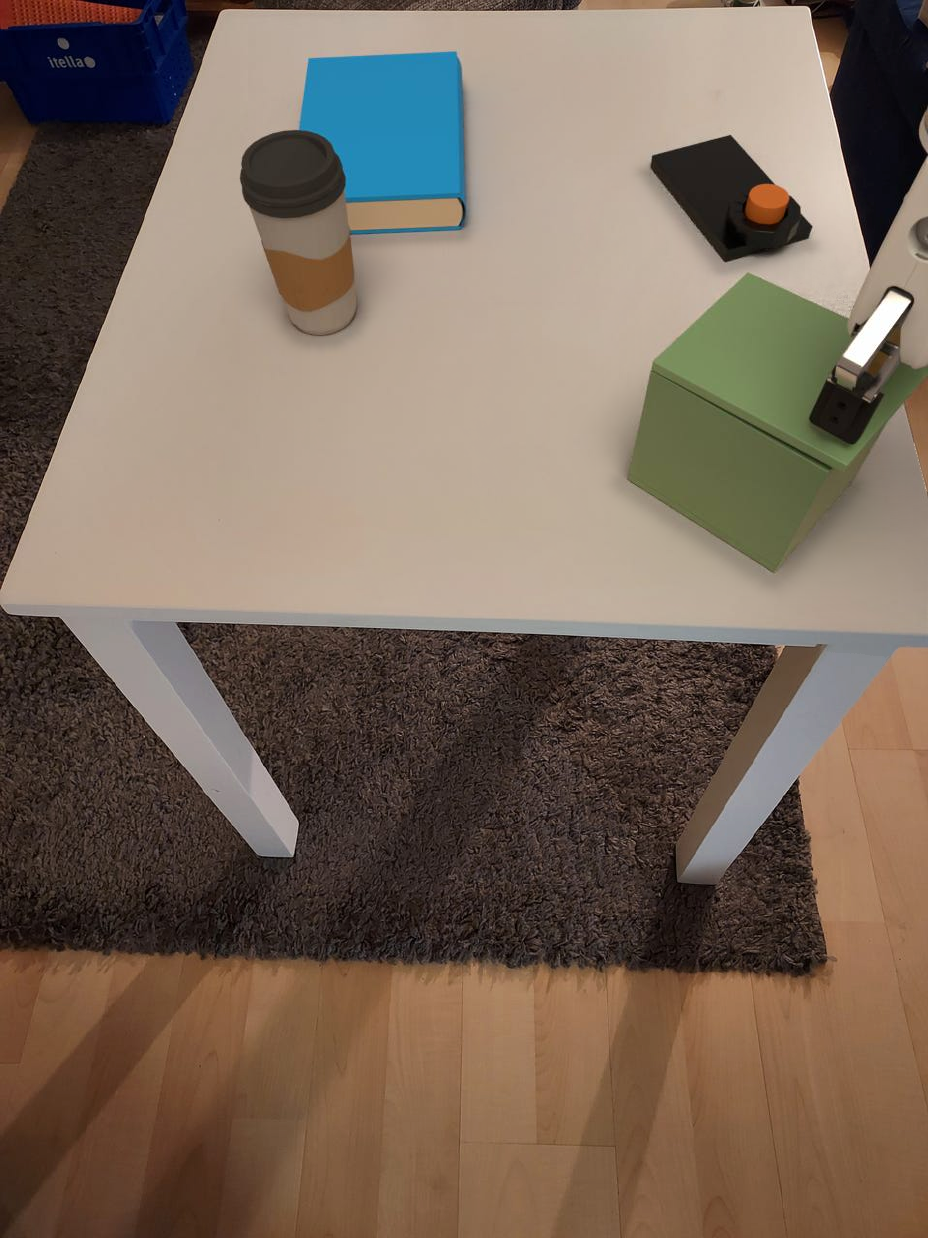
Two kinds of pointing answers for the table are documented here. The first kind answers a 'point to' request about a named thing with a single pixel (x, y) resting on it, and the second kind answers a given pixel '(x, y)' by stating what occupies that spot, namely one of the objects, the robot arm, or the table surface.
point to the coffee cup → (303, 226)
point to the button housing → (725, 197)
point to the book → (393, 137)
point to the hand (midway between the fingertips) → (871, 387)
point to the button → (766, 204)
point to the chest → (732, 473)
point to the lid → (777, 366)
